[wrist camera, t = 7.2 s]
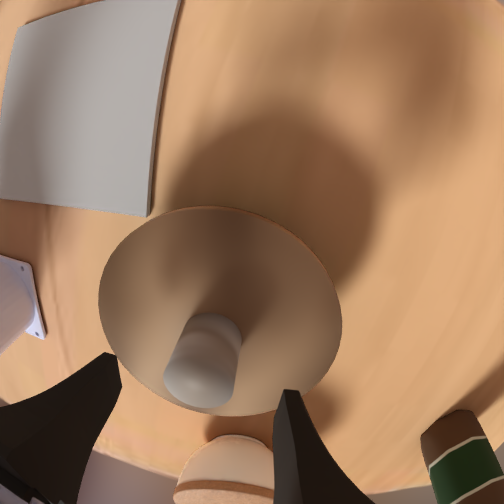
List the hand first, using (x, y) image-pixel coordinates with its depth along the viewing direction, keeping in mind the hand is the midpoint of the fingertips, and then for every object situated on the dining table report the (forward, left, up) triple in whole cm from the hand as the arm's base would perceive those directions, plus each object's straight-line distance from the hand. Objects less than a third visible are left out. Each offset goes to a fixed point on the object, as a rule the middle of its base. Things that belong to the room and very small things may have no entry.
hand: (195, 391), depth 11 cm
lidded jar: (+3, -19, -9) cm, 21 cm away
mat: (-13, +12, -9) cm, 20 cm away
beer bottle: (+27, -15, -9) cm, 32 cm away
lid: (0, 0, -4) cm, 4 cm away
